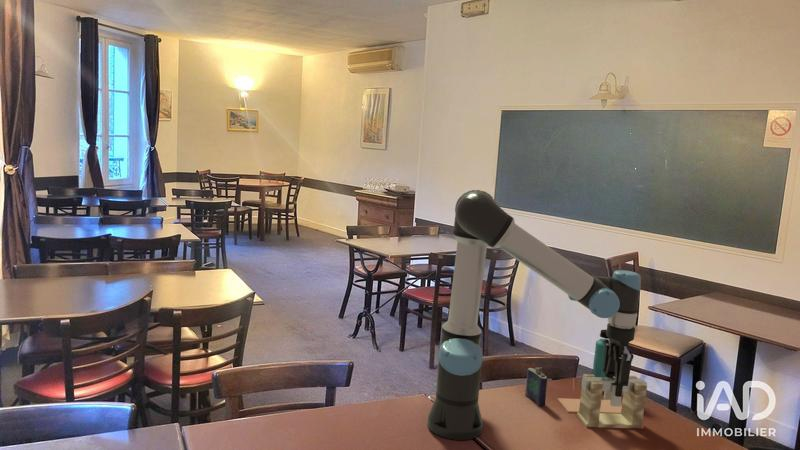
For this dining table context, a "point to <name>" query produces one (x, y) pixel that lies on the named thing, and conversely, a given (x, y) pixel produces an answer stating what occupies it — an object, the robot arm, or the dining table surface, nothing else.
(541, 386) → the flask
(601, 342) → the beverage bottle
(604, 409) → the mat
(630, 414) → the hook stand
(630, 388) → the rail
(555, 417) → the dining table surface
